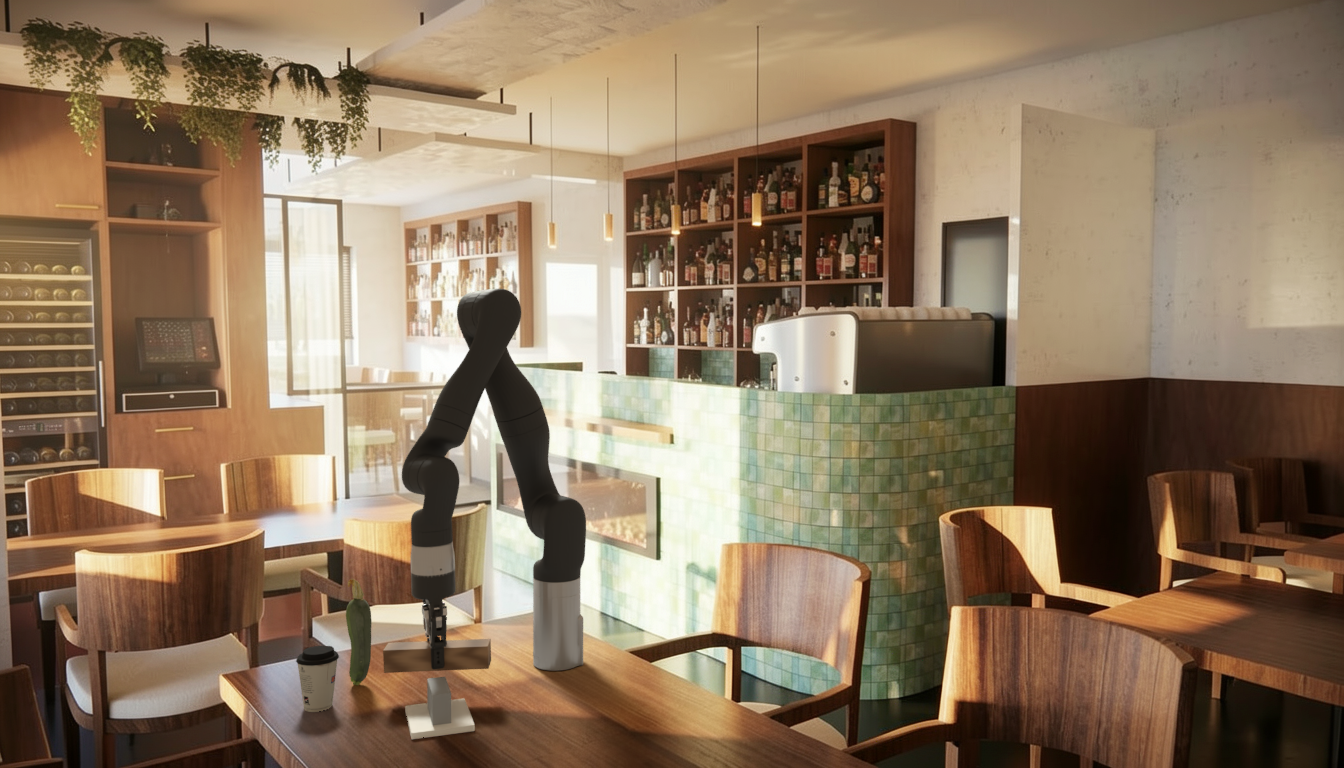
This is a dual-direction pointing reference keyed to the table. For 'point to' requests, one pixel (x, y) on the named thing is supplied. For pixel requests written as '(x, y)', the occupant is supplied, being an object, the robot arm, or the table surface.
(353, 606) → the vegetable
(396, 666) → the beam
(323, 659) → the coffee cup
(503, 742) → the table surface
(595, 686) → the table surface
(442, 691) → the fulcrum
